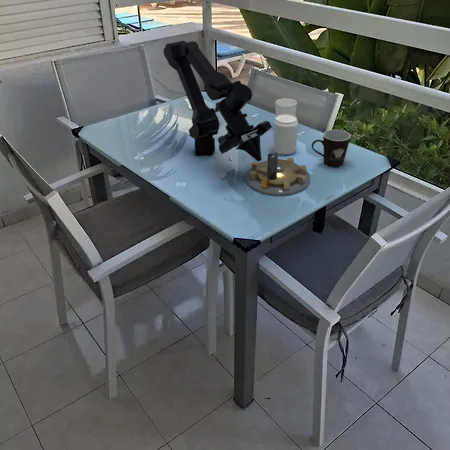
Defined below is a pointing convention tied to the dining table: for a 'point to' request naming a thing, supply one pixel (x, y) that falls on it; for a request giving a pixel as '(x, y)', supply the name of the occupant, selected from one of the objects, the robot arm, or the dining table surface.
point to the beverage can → (285, 134)
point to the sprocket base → (275, 190)
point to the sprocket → (278, 172)
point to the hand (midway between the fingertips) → (259, 160)
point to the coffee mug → (334, 147)
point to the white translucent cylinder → (286, 107)
